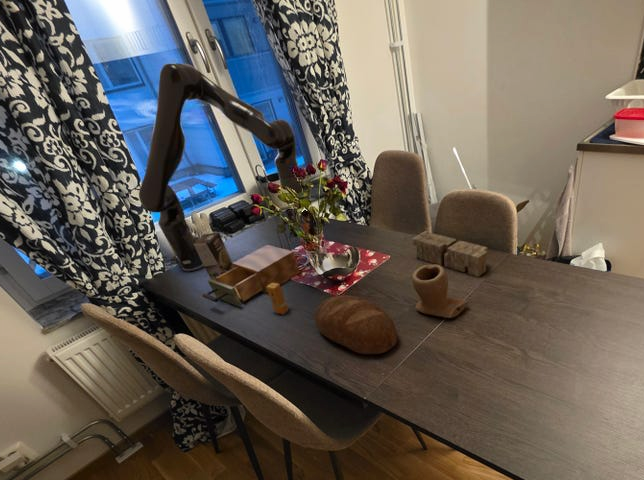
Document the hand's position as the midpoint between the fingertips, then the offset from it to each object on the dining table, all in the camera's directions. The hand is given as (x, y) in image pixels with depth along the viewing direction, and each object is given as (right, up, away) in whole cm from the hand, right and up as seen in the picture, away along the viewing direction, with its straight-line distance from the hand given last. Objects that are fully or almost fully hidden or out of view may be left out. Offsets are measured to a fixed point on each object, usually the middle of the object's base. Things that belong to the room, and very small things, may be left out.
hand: (307, 236), depth 143 cm
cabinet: (-15, -15, +4) cm, 22 cm away
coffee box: (-35, -13, +9) cm, 39 cm away
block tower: (+53, -10, +1) cm, 54 cm away
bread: (+22, -38, -27) cm, 52 cm away
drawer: (-23, -23, -5) cm, 33 cm away
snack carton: (+1, -4, +4) cm, 5 cm away
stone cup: (+47, -31, -22) cm, 61 cm away
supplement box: (-4, -30, -14) cm, 33 cm away
